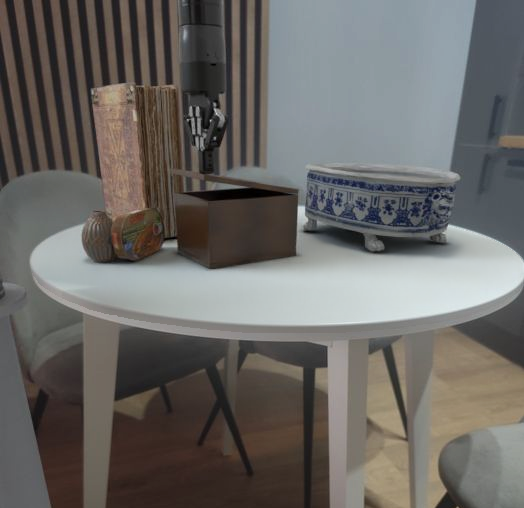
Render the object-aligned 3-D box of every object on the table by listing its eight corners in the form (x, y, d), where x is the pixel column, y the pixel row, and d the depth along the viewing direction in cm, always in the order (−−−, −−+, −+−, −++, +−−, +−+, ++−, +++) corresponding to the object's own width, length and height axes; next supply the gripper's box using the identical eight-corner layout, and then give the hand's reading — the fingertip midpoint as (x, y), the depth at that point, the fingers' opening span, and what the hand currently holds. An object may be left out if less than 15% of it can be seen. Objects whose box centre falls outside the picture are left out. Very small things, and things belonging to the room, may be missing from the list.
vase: (76, 262, 90) (69, 213, 87) (98, 253, 96) (92, 207, 93) (109, 265, 89) (103, 215, 85) (130, 256, 95) (125, 209, 91)
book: (187, 238, 109) (179, 84, 97) (147, 243, 104) (133, 81, 92) (141, 220, 128) (129, 89, 115) (106, 223, 123) (90, 87, 111)
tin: (126, 265, 89) (121, 217, 85) (111, 264, 90) (105, 216, 86) (167, 247, 102) (164, 205, 98) (153, 246, 102) (150, 204, 99)
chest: (210, 269, 87) (207, 202, 82) (177, 252, 98) (173, 192, 93) (296, 255, 97) (298, 194, 92) (258, 241, 107) (258, 186, 102)
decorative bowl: (271, 226, 123) (272, 161, 116) (353, 216, 135) (358, 158, 129) (397, 266, 90) (408, 179, 84) (489, 249, 103) (505, 173, 96)
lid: (203, 180, 81) (204, 174, 80) (169, 173, 91) (170, 167, 91) (298, 194, 92) (299, 189, 91) (258, 186, 102) (258, 181, 102)
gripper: (164, 62, 84) (172, 171, 91) (199, 55, 74) (204, 178, 81) (204, 65, 87) (208, 169, 95) (243, 59, 77) (244, 176, 85)
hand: (206, 173), depth 88 cm, fingers closed
